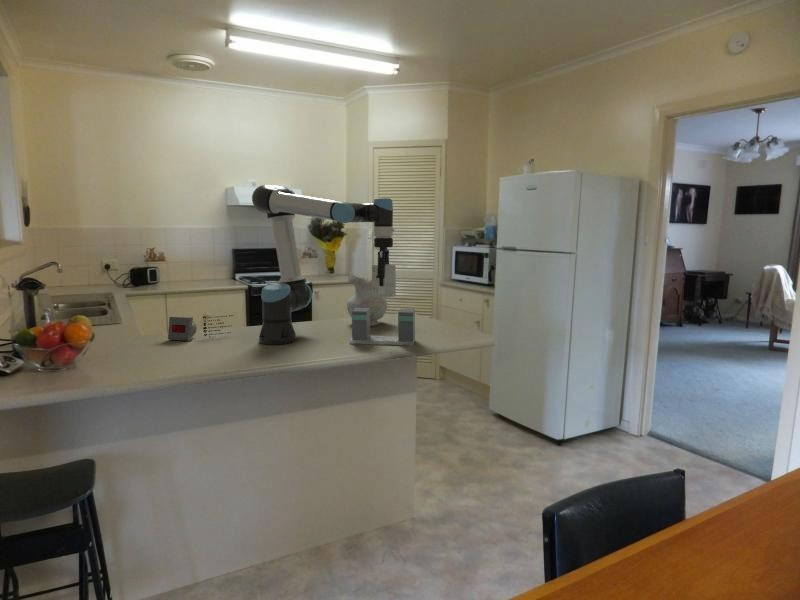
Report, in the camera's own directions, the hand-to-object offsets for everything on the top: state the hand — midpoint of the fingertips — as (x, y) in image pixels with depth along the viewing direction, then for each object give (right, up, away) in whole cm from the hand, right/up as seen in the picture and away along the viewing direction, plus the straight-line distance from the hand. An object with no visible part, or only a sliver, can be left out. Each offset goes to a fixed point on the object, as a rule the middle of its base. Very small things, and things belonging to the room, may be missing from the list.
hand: (383, 292), depth 209 cm
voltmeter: (-78, -20, +10) cm, 81 cm away
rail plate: (0, -21, +3) cm, 21 cm away
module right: (+9, -19, +2) cm, 22 cm away
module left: (-10, -19, +4) cm, 22 cm away
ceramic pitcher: (-8, -15, +40) cm, 44 cm away
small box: (0, -2, 0) cm, 2 cm away
